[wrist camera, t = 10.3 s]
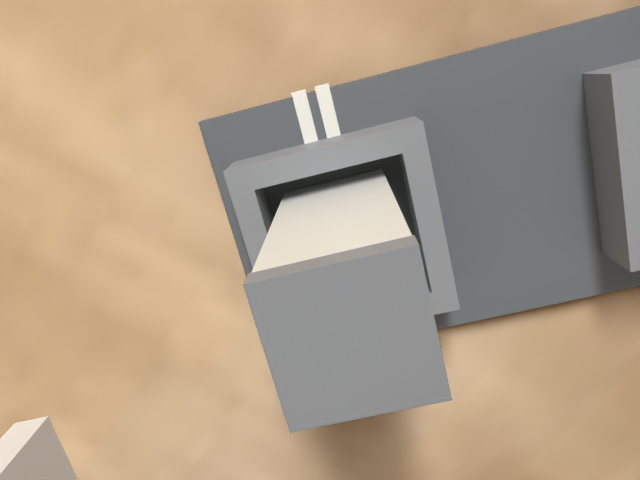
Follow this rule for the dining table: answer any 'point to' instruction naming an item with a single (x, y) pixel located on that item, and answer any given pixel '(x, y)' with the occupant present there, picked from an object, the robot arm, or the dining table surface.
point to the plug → (345, 306)
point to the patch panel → (470, 164)
